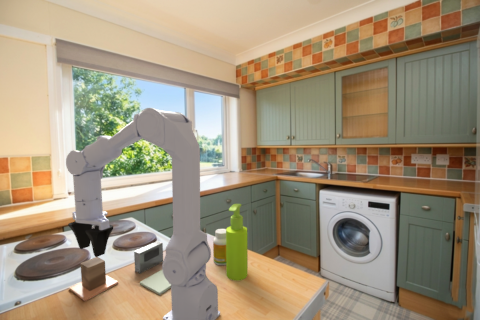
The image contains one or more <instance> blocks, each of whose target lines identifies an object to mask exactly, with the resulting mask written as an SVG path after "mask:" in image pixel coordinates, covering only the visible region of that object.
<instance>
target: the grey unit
mask: <svg viewBox="0 0 480 320" xmlns="http://www.w3.org/2000/svg"><path fill="white" fill-rule="evenodd" d="M163 246H164V244H163V242H162V241H158V240H156V241H155V242H152V243H149V244H148V245H145V246H142V247H140V248H138V249H136V250H134V251H133V254H134V256H133V257H134V258H133V259H134V272H136V273H138V274H140V275H141V274H142V273H144V272H146V271H148V270H150V269H152V268H155V267H156V266H157V265H159V264H161V263H163V261H164V249H163Z"/></svg>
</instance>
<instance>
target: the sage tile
mask: <svg viewBox="0 0 480 320" xmlns="http://www.w3.org/2000/svg"><path fill="white" fill-rule="evenodd" d="M139 285H141V286H142V287H144V288H146V289H147V290H149V291H152V292H153V293H155V294H157V295H159V296H161V295H162V294H164V293H165V292H167V291H168V290H169V289H170V290H171V284H169V282H168V281H167V279H166V278H165V276H164V274H163V270H162V269H160V270H159V271H157V272H154V274H151V275H150V276H148V277H146V278H144V279H142V280H140V282H139Z"/></svg>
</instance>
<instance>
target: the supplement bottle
mask: <svg viewBox="0 0 480 320" xmlns="http://www.w3.org/2000/svg"><path fill="white" fill-rule="evenodd" d="M214 232H215V233H214V235H215V236H214V238H213V240H212V241H213V242H212V243H213V245H212V246H213V249H212V250H213V251H212V252H213V263H214V264H215V265H217V266H226V228H218V229H216V230H215V231H214Z"/></svg>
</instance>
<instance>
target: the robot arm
mask: <svg viewBox="0 0 480 320" xmlns="http://www.w3.org/2000/svg"><path fill="white" fill-rule="evenodd" d="M142 139H143V140H145V142H148V143H150V144H152V145H154V146H157V147H158V148H161V149H162V150H163V151H165V153H166V154H168V156H170V157H171V181H172V183H171V185H172V186H171V189H172V193H171V194H172V232H173V233H172V235H171V237H170V239H169V241H168V243H167V244H166V247H165V256H164V258H163V262H162V266H161V270H163V274H164V276H165V278H166V279H167V281H168V282H169V284H171V288H170V292H171V294H170V295H171V299H170V300H171V310H170V311H168V312H167V313H166V314H165V315H164V316H163V317H162V320H216V319H218V318H219V316H221V311H220V310H219V298H218V297H219V295H218V294H219V293H218V292H219V290H218V287H217V285H216V284H215V283H213V282H212V281H211V280H210V279H209V278H208V276H207V274H206V273H207V271H206V270H207V264H208V263H209V261H210V260H211V257H212V251H211V247H210V245H209V242H208V234H207V233H206V232H204V231H202V230H201V157H200V156H201V148H200V144H199V142H198V140H197V137H196V135H195V133H194V130H193V122H192V120H191V119H189V117H187V116H186V115H185V114H183V113H182V112H179V111H168V110H164V109H163V110H161V109H156V108H154V107H146V108H144V109H143V110H141V111H140V112H138V113H136V114H134V115H133V120H132V121H130V122H129V123H128V124H126V125H125V126H124V127H122V128H121V129H120V130H118V131H117V132H116V133H114V135H112V136H111V135H99V136H97V137H96V140H95V141H93V142H92V143H91V144H88V145H85V146H84V148H83V149H81V150H77V149H76V150H74V149H72V150H70V151H69V153H67V155H66V159H65V166H66V169H67V171H68V173H70V174H71V175H72V178H73V179H72V180H73V181H72V182H73V194H74V207H75V211H72V212H71V213H72V219H73V221H72V222H69V223H68V227H69V228H70V229H71V231H72V233H73V235H74V236H75V240H76V242H77V245H78V247H79V249H81V250H83V249H85V248H89V247H90V245H91V247H92V253H93V256H94V258H95V257H100V256H103V255H105V254H106V250H107V245H108V244H107V243H108V241H109V238H110V235H111V234H112V232H113V230H114V225H112V224H110V219H108V218H107V217H106V216H108V211H105V210H104V211H103V196H102V195H103V193H102V179H103V177H104V170H105V168H106V165H108V164H109V163H111V162H113V161H115V160H116V159H117V158H120V157H121V155H122V154H123V150H124V149H125V148H127V147H129V146H131V145H133V144H135V143H137V142H139V141H141V140H142ZM93 226H94V227H93Z"/></svg>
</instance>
